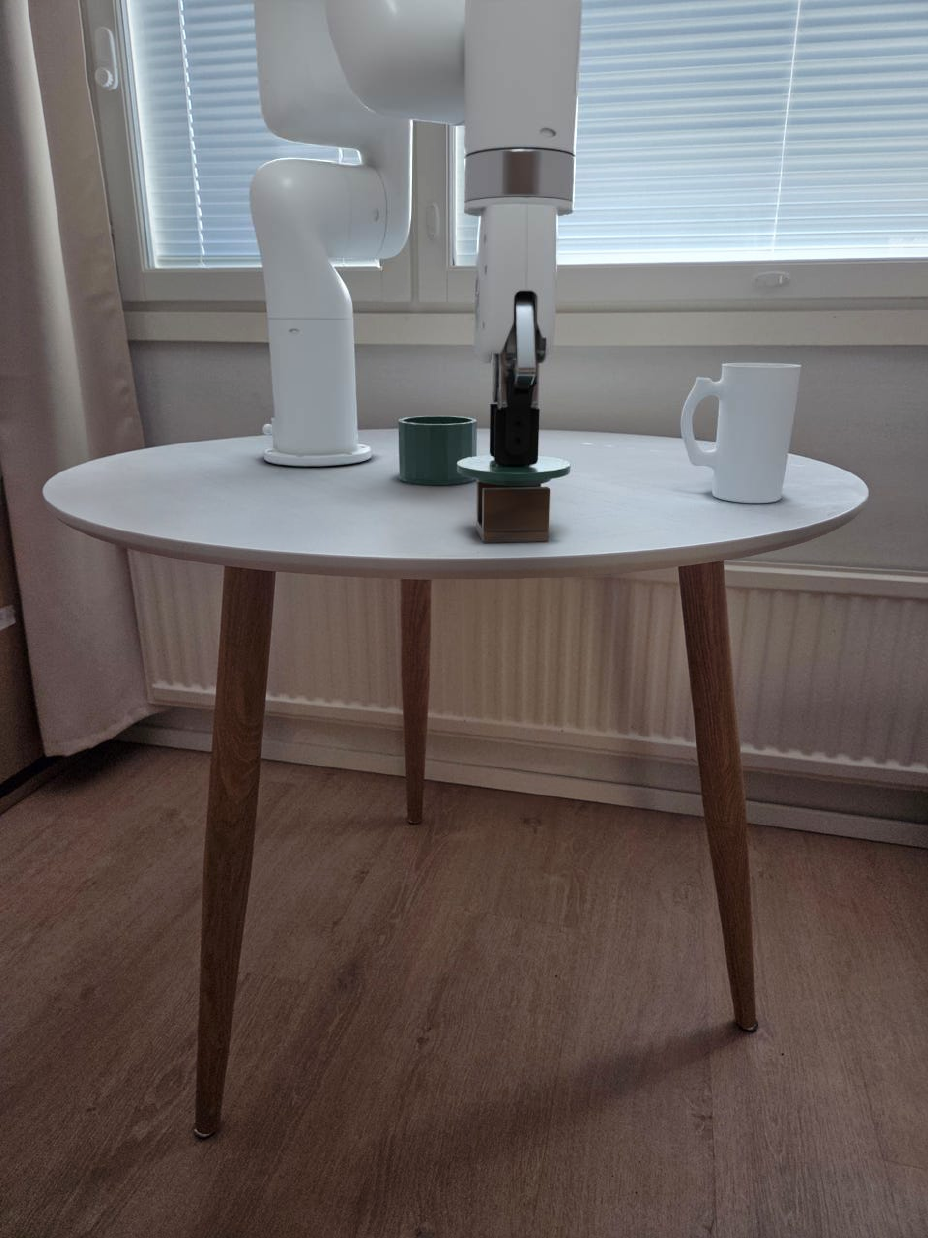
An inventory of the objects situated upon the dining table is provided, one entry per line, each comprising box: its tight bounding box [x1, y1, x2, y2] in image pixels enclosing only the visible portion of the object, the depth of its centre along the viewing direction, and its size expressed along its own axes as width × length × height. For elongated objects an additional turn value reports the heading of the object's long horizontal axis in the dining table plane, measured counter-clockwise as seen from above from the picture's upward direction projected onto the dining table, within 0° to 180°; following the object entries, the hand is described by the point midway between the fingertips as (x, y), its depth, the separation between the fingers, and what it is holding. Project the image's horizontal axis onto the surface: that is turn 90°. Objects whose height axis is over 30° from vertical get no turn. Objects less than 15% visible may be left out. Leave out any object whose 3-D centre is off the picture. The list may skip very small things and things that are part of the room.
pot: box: [397, 415, 478, 486], centre depth 88 cm, size 8×8×6 cm
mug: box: [680, 362, 802, 504], centre depth 78 cm, size 10×7×12 cm, turn 84°
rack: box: [475, 480, 551, 544], centre depth 65 cm, size 5×4×4 cm
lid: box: [457, 388, 571, 486], centre depth 63 cm, size 9×9×7 cm
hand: (513, 458), depth 64 cm, fingers closed on lid, 2 cm apart
